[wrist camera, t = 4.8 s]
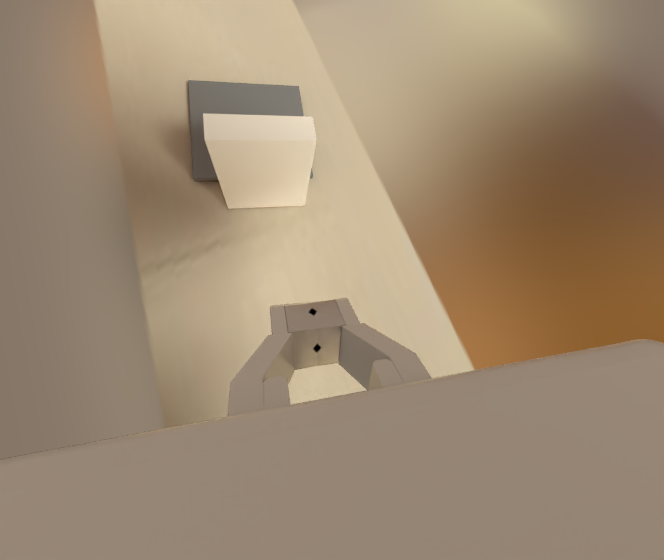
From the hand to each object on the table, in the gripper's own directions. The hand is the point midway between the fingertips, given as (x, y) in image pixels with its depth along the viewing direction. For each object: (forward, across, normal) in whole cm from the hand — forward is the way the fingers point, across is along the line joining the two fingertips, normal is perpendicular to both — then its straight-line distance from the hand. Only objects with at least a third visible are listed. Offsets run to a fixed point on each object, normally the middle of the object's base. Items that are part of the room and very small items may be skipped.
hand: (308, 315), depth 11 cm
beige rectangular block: (+26, -1, -2) cm, 26 cm away
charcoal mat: (+33, -2, +4) cm, 33 cm away
